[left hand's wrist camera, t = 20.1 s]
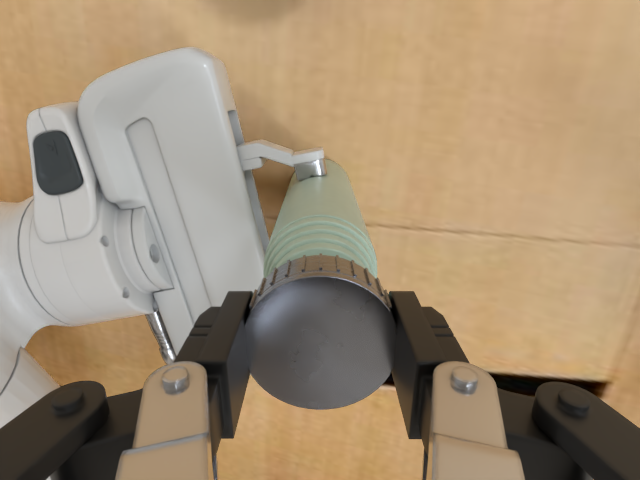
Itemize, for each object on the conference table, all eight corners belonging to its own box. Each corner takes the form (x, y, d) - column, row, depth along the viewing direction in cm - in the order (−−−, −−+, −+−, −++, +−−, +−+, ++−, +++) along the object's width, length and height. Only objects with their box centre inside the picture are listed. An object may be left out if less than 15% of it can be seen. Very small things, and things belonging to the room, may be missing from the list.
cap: (219, 325, 12) (207, 354, 11) (311, 222, 11) (310, 240, 10) (327, 399, 13) (328, 435, 12) (422, 311, 12) (435, 339, 11)
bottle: (359, 170, 29) (426, 294, 11) (337, 225, 31) (363, 415, 12) (301, 149, 29) (268, 241, 10) (281, 206, 30) (223, 374, 12)
